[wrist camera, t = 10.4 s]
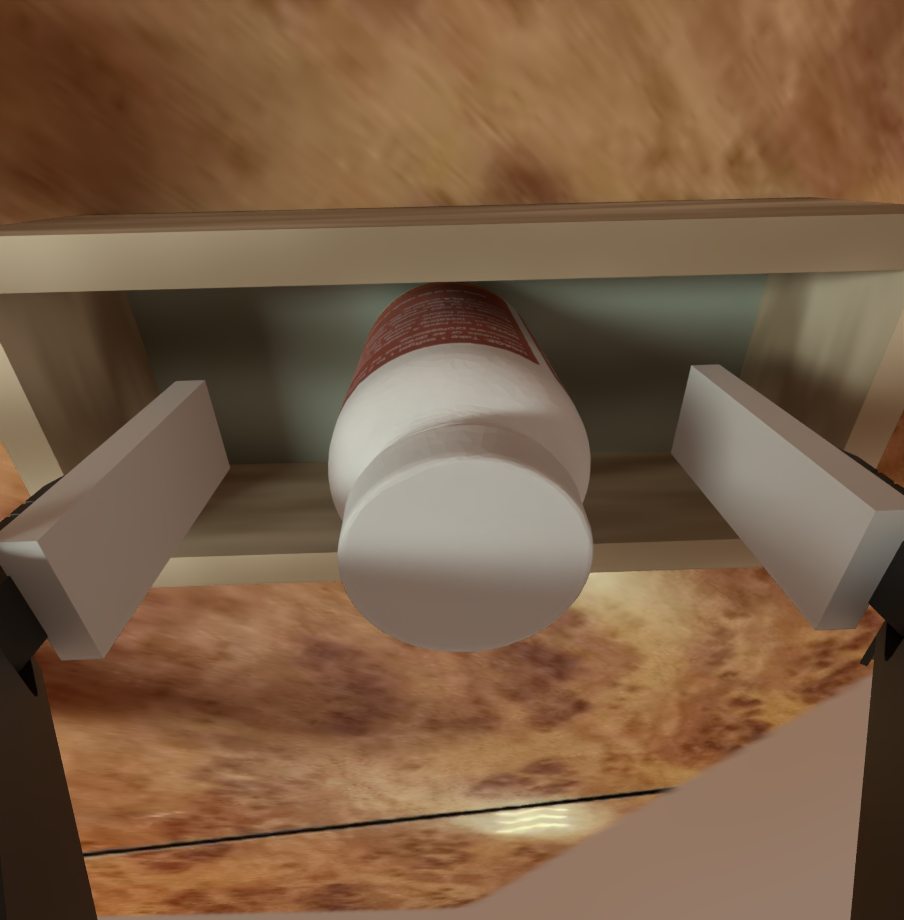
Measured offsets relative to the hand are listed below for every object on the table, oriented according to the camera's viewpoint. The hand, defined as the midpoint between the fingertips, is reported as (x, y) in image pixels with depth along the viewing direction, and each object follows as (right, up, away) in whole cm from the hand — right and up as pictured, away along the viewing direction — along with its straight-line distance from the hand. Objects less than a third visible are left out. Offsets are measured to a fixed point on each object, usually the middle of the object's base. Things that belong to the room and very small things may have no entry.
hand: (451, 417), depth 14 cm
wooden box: (0, +3, +5) cm, 6 cm away
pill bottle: (0, +3, +5) cm, 5 cm away
